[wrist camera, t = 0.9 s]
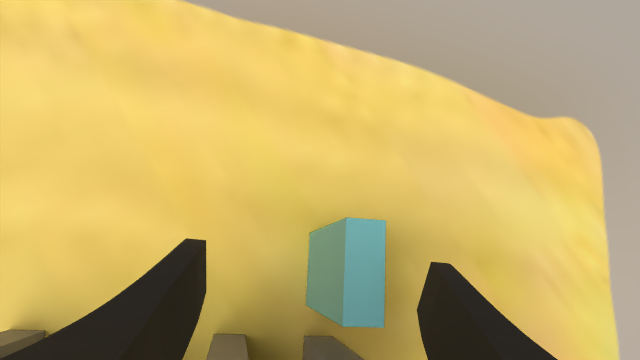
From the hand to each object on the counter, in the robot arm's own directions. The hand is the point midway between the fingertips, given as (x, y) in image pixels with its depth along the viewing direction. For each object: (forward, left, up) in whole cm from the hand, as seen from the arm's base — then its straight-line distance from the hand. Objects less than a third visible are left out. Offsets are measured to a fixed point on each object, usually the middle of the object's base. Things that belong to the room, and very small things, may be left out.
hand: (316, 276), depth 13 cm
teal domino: (0, -4, -16) cm, 16 cm away
